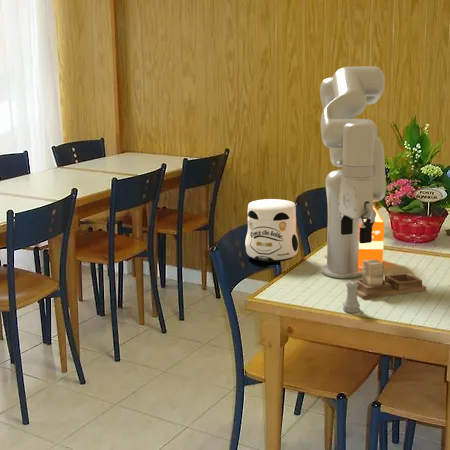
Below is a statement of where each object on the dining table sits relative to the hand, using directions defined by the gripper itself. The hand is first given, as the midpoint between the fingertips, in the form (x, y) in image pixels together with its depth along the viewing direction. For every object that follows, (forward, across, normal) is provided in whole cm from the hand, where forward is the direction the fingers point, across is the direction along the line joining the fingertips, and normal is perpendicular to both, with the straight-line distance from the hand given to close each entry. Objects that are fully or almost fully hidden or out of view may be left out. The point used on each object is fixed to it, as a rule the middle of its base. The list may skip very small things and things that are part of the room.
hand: (355, 238), depth 184 cm
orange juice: (+19, -35, +24) cm, 47 cm away
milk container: (+19, -52, -2) cm, 55 cm away
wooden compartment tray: (+19, -11, +17) cm, 28 cm away
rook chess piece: (+20, -1, 0) cm, 20 cm away
